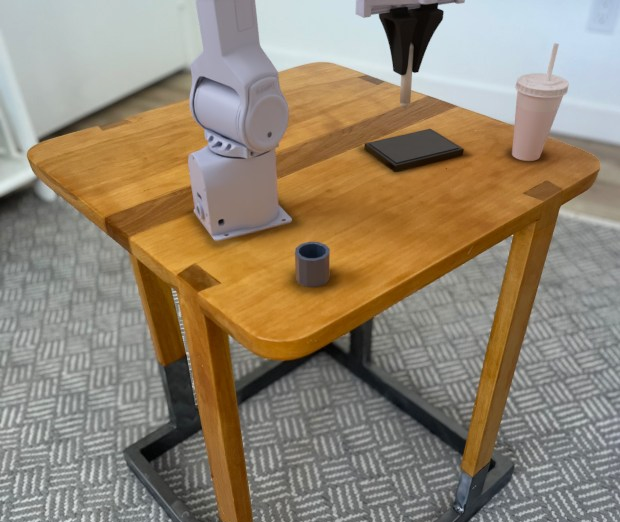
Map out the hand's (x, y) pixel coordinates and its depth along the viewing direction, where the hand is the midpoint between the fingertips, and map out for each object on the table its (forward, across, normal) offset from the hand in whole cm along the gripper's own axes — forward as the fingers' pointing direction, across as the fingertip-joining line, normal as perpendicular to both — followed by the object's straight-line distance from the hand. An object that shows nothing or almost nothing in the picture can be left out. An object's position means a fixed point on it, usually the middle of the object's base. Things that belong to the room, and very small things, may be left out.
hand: (405, 71), depth 80 cm
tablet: (+10, +1, -2) cm, 10 cm away
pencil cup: (+10, -25, -23) cm, 36 cm away
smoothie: (+10, +14, -10) cm, 20 cm away
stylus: (+4, 0, 0) cm, 4 cm away
